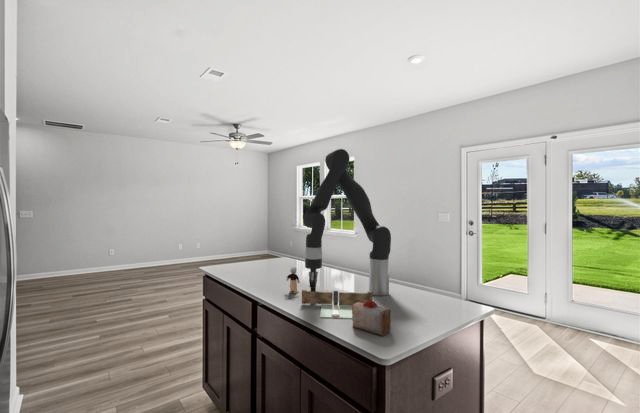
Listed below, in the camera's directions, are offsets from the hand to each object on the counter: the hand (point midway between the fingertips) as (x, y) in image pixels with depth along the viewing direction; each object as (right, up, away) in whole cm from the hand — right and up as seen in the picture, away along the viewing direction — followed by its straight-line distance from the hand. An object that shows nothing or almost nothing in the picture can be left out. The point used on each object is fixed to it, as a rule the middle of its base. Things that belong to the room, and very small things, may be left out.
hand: (313, 295), depth 142 cm
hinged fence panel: (+3, -2, -5) cm, 6 cm away
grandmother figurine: (-10, -3, +14) cm, 18 cm away
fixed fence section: (+18, -2, -6) cm, 20 cm away
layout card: (+15, -3, -11) cm, 19 cm away
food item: (+21, -3, -31) cm, 37 cm away
